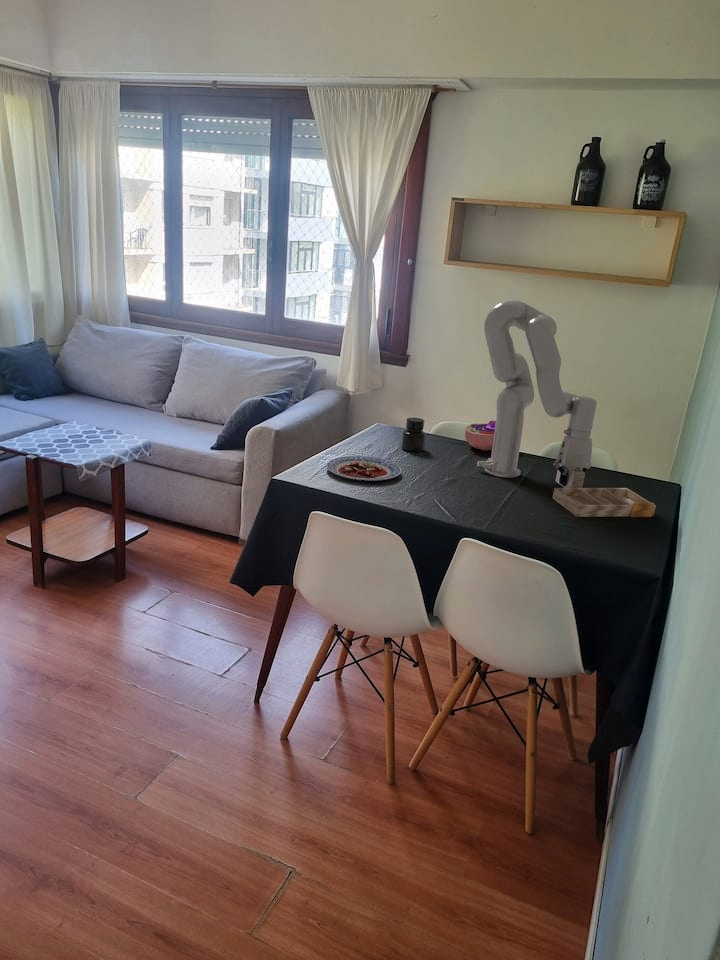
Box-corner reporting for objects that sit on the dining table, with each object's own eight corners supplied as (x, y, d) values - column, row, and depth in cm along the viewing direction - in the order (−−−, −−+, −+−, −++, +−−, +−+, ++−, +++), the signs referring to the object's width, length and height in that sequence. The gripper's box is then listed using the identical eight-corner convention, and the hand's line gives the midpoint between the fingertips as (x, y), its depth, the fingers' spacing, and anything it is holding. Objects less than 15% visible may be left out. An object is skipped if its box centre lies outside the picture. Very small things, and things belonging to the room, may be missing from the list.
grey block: (570, 492, 225) (574, 472, 222) (555, 481, 235) (559, 462, 233) (581, 492, 226) (585, 473, 223) (565, 481, 236) (569, 462, 233)
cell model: (452, 446, 271) (455, 418, 267) (487, 441, 282) (491, 415, 278) (482, 457, 258) (486, 429, 254) (517, 452, 269) (521, 424, 266)
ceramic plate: (378, 491, 213) (379, 482, 213) (311, 474, 225) (311, 465, 224) (413, 472, 235) (414, 464, 234) (350, 457, 247) (350, 449, 246)
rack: (577, 517, 203) (580, 503, 202) (552, 498, 219) (554, 485, 217) (654, 516, 209) (658, 503, 207) (625, 497, 224) (627, 485, 223)
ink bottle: (427, 449, 264) (431, 419, 260) (420, 454, 256) (423, 423, 252) (404, 444, 267) (407, 415, 264) (396, 449, 260) (399, 419, 256)
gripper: (561, 436, 219) (551, 488, 225) (607, 437, 222) (596, 489, 228) (550, 429, 226) (541, 480, 232) (595, 431, 229) (585, 481, 235)
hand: (568, 484), depth 230 cm, fingers closed on grey block, 4 cm apart
